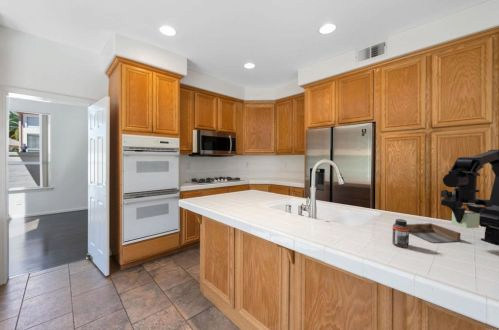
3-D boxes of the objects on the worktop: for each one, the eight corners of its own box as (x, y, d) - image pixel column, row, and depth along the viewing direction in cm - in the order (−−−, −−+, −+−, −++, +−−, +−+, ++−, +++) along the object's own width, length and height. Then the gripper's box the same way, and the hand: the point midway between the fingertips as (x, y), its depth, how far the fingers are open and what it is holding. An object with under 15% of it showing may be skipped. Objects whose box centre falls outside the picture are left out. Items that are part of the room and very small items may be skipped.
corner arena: (430, 230, 116) (430, 223, 115) (460, 241, 101) (460, 233, 101) (405, 231, 114) (405, 224, 114) (432, 243, 99) (432, 234, 99)
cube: (463, 223, 98) (464, 209, 98) (478, 227, 92) (479, 213, 92) (451, 223, 97) (452, 209, 97) (466, 228, 91) (467, 213, 91)
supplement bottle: (393, 241, 101) (393, 217, 100) (409, 245, 97) (410, 219, 97) (391, 245, 96) (392, 220, 96) (407, 249, 93) (409, 223, 92)
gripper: (465, 183, 103) (463, 216, 104) (429, 184, 101) (428, 217, 101) (494, 187, 92) (492, 223, 93) (455, 187, 90) (453, 225, 90)
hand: (465, 222), depth 95 cm, fingers closed on cube, 6 cm apart
